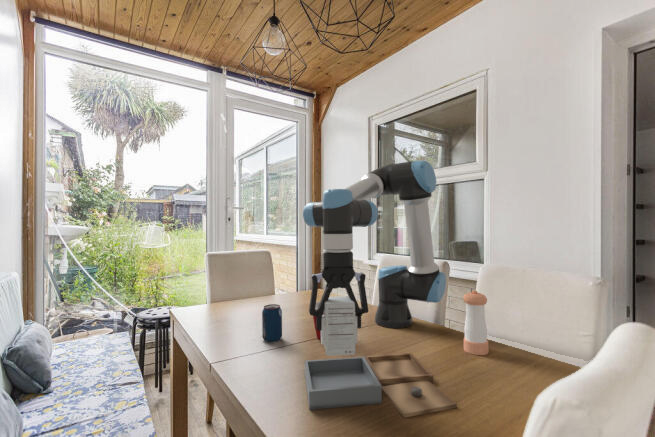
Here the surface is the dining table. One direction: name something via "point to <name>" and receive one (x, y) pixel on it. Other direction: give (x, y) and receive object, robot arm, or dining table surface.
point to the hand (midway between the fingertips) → (339, 341)
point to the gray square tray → (341, 383)
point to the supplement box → (339, 326)
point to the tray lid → (417, 398)
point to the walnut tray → (398, 368)
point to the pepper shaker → (475, 324)
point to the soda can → (272, 323)
